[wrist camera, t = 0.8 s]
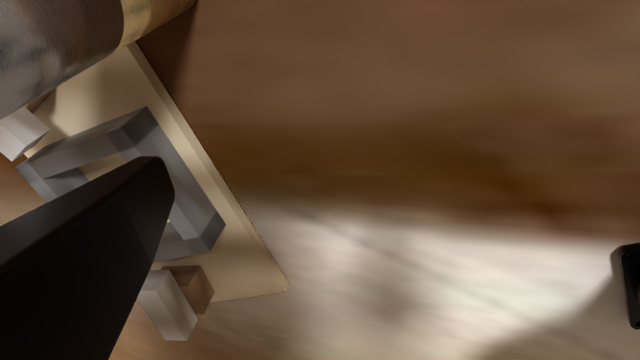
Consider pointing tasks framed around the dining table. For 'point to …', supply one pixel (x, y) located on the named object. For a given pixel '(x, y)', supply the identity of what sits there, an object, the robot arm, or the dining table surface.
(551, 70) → the dining table surface
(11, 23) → the coupler
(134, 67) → the shaft station
